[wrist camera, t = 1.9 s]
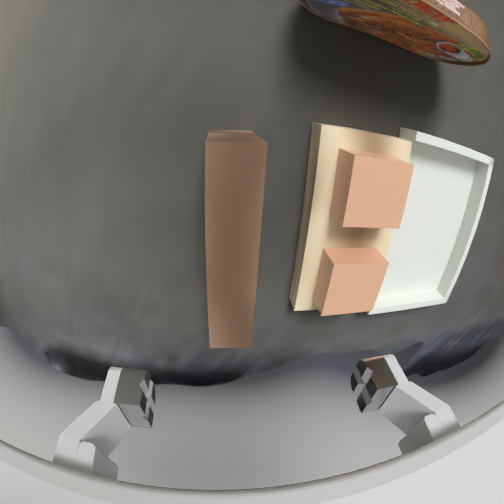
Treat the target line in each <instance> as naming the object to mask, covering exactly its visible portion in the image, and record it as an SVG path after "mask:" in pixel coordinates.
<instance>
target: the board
mask: <svg viewBox="0 0 504 504" xmlns="http://www.w3.org/2000/svg"><path fill="white" fill-rule="evenodd" d="M411 147H412V142H411V141H408V140H404V139H401V138H398V137H393V136H389V135H384V134H380V133H375V132H370V131H364V130H359V129H353V128H347V127H341V126H335V125H328V124H320V123H313V122H312V131H311V141H310V151H309V160H308V169H307V177H306V186H305V194H304V202H303V209H302V217H301V224H300V231H299V238H298V245H297V252H296V259H295V265H294V272H293V278H292V284H291V290H290V296H289V298H290V301H291V304H292V306H293V309H294V311H303V310H317V309H318V308H317V306H316V304H315V301H314V299H313V294H314V289H315V285H316V280H317V275H318V271H319V266H320V261H321V256H322V251H323V248H376V249H377V250H378V251H379V252H380V253H381V254H382V255H383V257H384V258H386V255H387V252H388V248H389V245H390V241H391V238H392V234H393V231H394V228H363V227H342V226H341V225H340V224H339V223H338V222H337V221H336V220H335V218H334V217H333V216H332V215H331V214H330V207H331V201H332V194H333V188H334V181H335V175H336V168H337V160H338V153H339V148H343V149H351V150H358V151H364V152H371V153H377V154H382V155H388V156H393V157H397V158H399V159H402V160H404V161H406V162H408V163H409V159H410V153H411Z"/></svg>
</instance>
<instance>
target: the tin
mask: <svg viewBox="0 0 504 504" xmlns="http://www.w3.org/2000/svg"><path fill="white" fill-rule="evenodd" d="M299 1H300V2H301V4H302V5H303V6H304V7H305V8H306V9H307V10H308V11H310V12H311V13H313V14H315V15H317V16H319V17H321V18H323V19H325V20H328V21H331V22H334V23H337V24H340V25H343V26H347V27H350V28H353V29H356V30H359V31H362V32H365V33H367V34H370V35H373V36H376V37H378V38H381V39H383V40H386V41H388V42H390V43H393V44H395V45H397V46H400V47H402V48H404V49H406V50H408V51H411V52H413V53H415V54H418V55H420V56H423V57H426V58H429V59H433V60H436V61H440V62H445V63H450V64H455V65H464V66H478V65H483V64H486V63H487V62H488V61H489V60H490V58H491V52H490V50H489V40H488V33H487V29H486V26H485V24H484V23H483V21H482V20H481V19H480V17H479V16H478V15H477V14H475V13H474V12H473V11H472V10H471V9H469V8H468V7H467V6H465V5H464V4H463V3H461V2H460V1H459V0H299Z"/></svg>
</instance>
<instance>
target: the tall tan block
mask: <svg viewBox="0 0 504 504" xmlns="http://www.w3.org/2000/svg"><path fill="white" fill-rule="evenodd" d="M267 147H268V143H267V142H265V141H264V140H263V139H261V138H260V137H259V136H258V135H256V134H255V133H254V132H252V131H244V130H209V132H208V135H207V138H206V141H205V249H206V281H207V304H208V323H209V340H210V348H239V347H251V345H252V333H253V322H254V310H255V298H256V286H257V274H258V262H259V250H260V238H261V225H262V212H263V200H264V187H265V173H266V160H267Z"/></svg>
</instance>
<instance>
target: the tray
mask: <svg viewBox="0 0 504 504" xmlns="http://www.w3.org/2000/svg"><path fill="white" fill-rule="evenodd" d="M399 138H401V139H404V140H408V141H411V142H412V147H411V153H410V159H409V163H411V164H413V165H414V168H413V173H412V178H411V183H410V187H409V192H408V196H407V200H406V205H405V209H404V213H403V217H402V221H401V224H400V228H399V229H394V231H393V234H392V238H391V241H390V245H389V248H388V252H387V255H386V258H385V259H386V260H387V261H388V262H389V265H388V268H387V271H386V274H385V277H384V280H383V283H382V285H381V288H380V291H379V294H378V297H377V299H376V302H375V305H374V307H373V310H372V311H366V312H367V313H368V315H370V314H378V313H385V312H392V311H399V310H406V309H412V308H419V307H425V306H430V305H436V304H442V303H446V302H447V299H448V297H449V295H450V293H451V291H452V289H453V287H454V285H455V282H456V280H457V278H458V275H459V273H460V271H461V268H462V266H463V263H464V261H465V258H466V256H467V253H468V251H469V248H470V245H471V242H472V240H473V237H474V234H475V231H476V228H477V225H478V222H479V218H480V215H481V212H482V208H483V205H484V201H485V197H486V194H487V190H488V185H489V181H490V177H491V172H492V167H493V162H494V159H493V158H491V157H489V156H486V155H484V154H481V153H479V152H477V151H474V150H472V149H469V148H466V147H464V146H461V145H458V144H456V143H453V142H450V141H447V140H444V139H441V138H438V137H435V136H432V135H429V134H425V133H422V132H419V131H415V130H411V129H407V128H403V127H400V132H399Z"/></svg>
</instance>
